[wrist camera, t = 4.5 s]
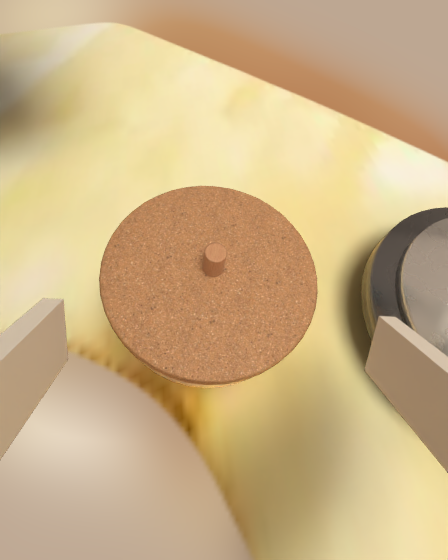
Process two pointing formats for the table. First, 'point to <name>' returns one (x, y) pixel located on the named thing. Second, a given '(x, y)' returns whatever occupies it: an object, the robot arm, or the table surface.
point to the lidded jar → (208, 286)
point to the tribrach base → (411, 277)
